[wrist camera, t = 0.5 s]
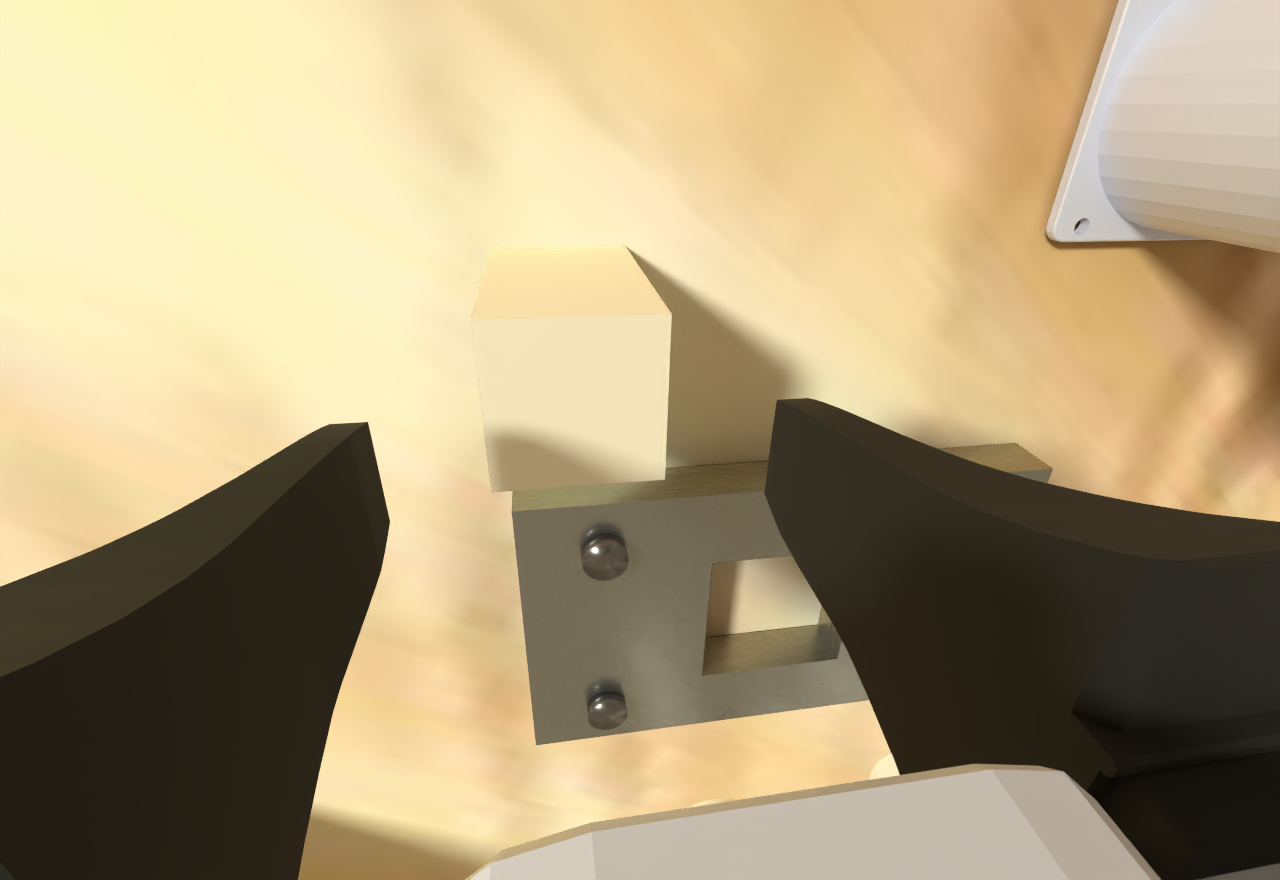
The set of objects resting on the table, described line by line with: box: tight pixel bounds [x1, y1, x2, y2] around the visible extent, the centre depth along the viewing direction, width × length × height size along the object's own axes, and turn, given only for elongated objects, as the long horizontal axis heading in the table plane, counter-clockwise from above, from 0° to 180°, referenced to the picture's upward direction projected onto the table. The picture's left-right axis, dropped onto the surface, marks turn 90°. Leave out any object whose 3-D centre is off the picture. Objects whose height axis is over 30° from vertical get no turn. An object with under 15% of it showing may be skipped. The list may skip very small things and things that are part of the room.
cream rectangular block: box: [470, 246, 672, 492], centre depth 16 cm, size 4×4×7 cm
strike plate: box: [512, 443, 1053, 745], centre depth 25 cm, size 20×12×3 cm, turn 89°
